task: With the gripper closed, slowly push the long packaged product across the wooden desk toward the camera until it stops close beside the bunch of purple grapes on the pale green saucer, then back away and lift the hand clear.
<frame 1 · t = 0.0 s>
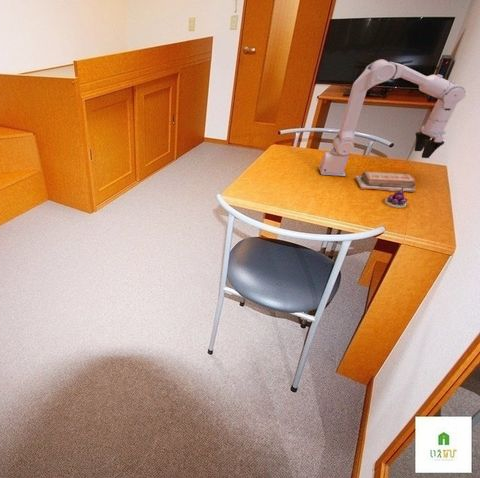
hand: (421, 154, 128), 10 cm above the table, tool pointing down, fingers open, 7 cm apart
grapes: (395, 203, 118), on the table
packaged product: (382, 186, 130), on the table
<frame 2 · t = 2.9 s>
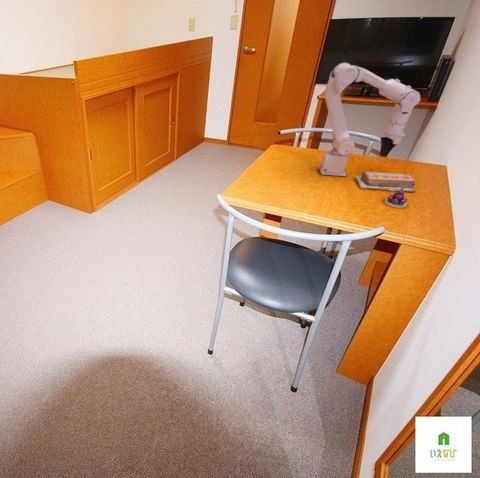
hand: (383, 155, 134), 8 cm above the table, tool pointing down, fingers closed
nothing on the table moved.
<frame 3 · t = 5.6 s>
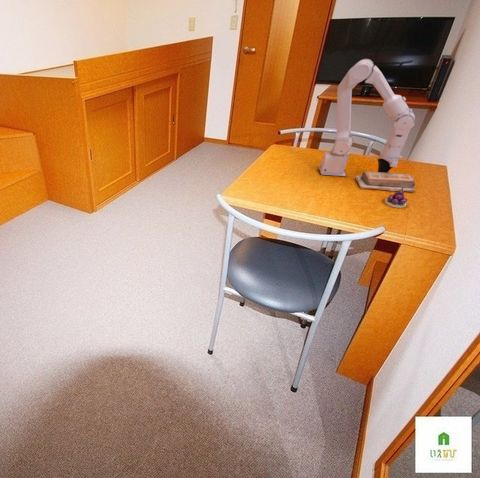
hand: (380, 176, 133), 1 cm above the table, tool pointing down, fingers closed
packaged product: (382, 185, 130), on the table, touching gripper
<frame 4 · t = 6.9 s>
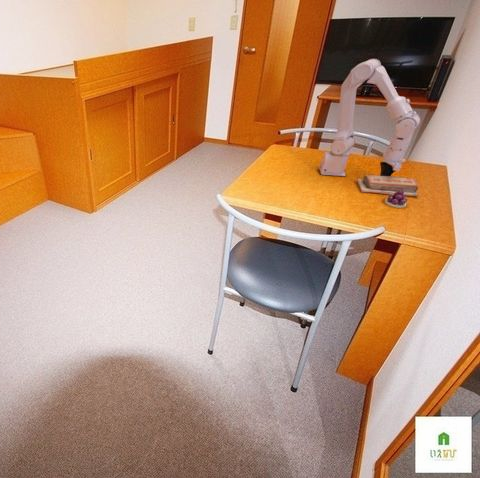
hand: (382, 180, 130), 1 cm above the table, tool pointing down, fingers closed
packaged product: (384, 189, 127), on the table, touching gripper
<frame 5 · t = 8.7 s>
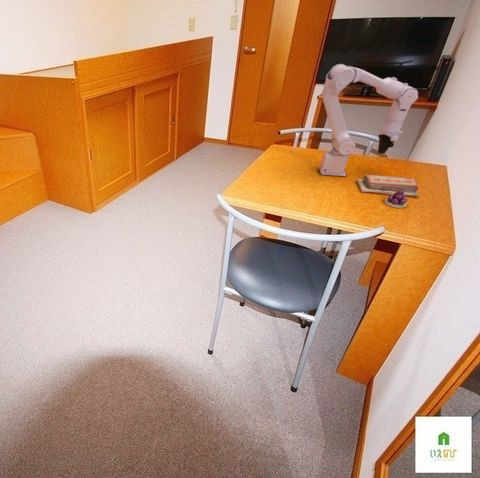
hand: (381, 152, 134), 9 cm above the table, tool pointing down, fingers closed
packaged product: (384, 189, 127), on the table
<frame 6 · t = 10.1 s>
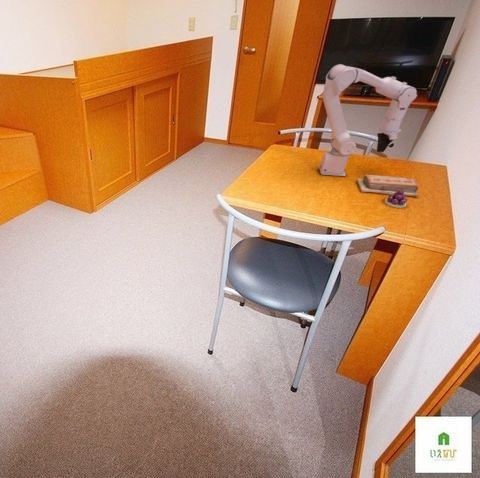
hand: (379, 151, 135), 9 cm above the table, tool pointing down, fingers closed
nothing on the table moved.
at the end: packaged product 12.0 cm from the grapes (horizontally); packaged product moved 3.5 cm from its start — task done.
